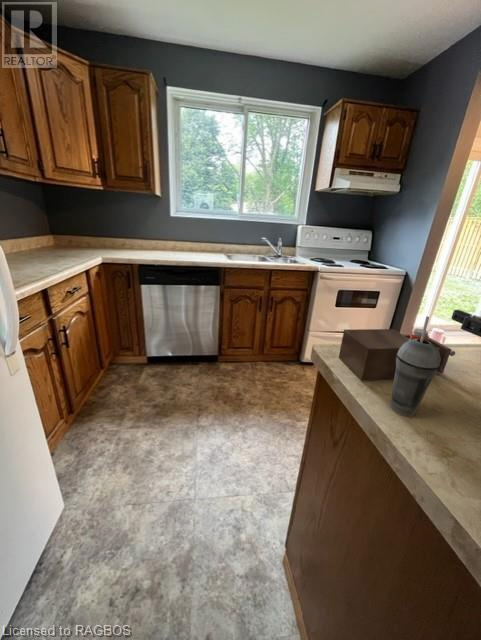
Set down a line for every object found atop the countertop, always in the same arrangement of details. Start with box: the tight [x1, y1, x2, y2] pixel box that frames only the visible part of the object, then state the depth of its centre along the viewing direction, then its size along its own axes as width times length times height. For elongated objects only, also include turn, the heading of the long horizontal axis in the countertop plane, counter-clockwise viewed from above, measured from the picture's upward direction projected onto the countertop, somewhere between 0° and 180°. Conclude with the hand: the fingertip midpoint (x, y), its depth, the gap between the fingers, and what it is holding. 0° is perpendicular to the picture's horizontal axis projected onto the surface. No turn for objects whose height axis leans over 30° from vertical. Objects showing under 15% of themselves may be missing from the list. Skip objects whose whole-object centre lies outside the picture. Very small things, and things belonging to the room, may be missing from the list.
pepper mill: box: [410, 328, 430, 341], centre depth 71 cm, size 4×4×8 cm
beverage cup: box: [389, 315, 441, 418], centre depth 52 cm, size 7×7×20 cm
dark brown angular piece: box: [401, 333, 456, 374], centre depth 72 cm, size 18×10×7 cm, turn 98°
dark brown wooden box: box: [338, 328, 411, 382], centre depth 70 cm, size 15×12×9 cm
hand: (471, 314), depth 57 cm, fingers open, 8 cm apart
